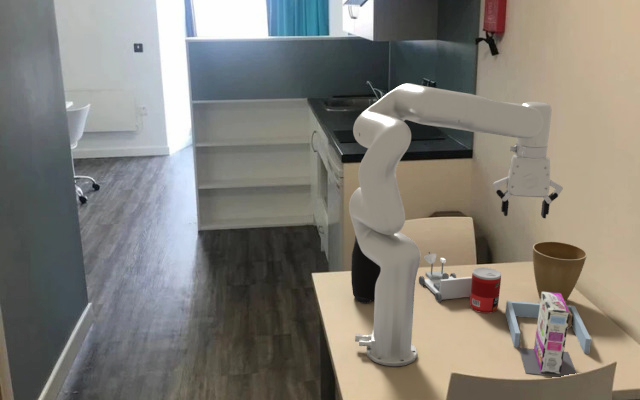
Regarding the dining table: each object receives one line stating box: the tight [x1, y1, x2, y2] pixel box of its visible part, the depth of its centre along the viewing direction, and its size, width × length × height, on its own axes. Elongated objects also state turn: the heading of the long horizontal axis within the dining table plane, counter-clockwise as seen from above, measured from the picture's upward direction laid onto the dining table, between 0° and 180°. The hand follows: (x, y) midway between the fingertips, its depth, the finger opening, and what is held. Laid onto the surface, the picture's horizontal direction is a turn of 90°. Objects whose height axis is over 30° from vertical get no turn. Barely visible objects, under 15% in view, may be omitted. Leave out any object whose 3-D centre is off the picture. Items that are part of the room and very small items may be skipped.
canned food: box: [469, 267, 502, 314], centre depth 187 cm, size 8×8×11 cm
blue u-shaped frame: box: [505, 300, 592, 354], centre depth 174 cm, size 18×19×4 cm
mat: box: [518, 347, 577, 377], centre depth 160 cm, size 12×12×1 cm
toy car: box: [418, 251, 472, 303], centre depth 200 cm, size 18×10×12 cm
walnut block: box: [567, 309, 572, 329], centre depth 179 cm, size 4×4×4 cm
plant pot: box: [532, 241, 588, 303], centre depth 192 cm, size 15×15×16 cm
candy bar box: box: [533, 292, 570, 374], centre depth 157 cm, size 11×5×16 cm, turn 171°
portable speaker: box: [350, 235, 381, 304], centre depth 191 cm, size 9×9×20 cm
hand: (524, 215), depth 170 cm, fingers open, 9 cm apart
